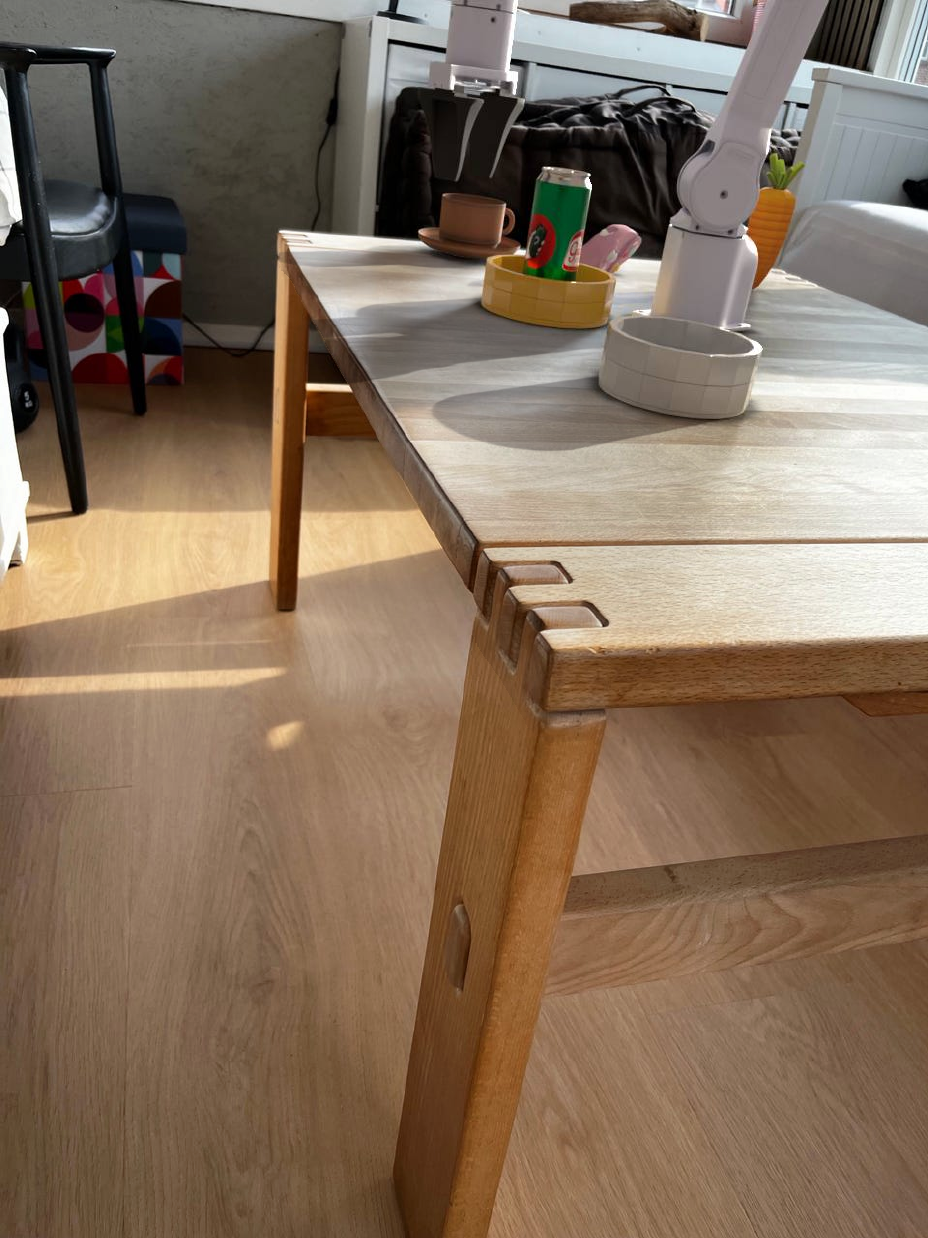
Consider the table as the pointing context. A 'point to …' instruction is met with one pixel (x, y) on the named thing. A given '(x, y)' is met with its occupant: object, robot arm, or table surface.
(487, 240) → the cup and saucer
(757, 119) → the robot arm
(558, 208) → the soda can
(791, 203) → the carrot
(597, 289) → the bowl
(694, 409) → the pot
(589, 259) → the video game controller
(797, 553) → the table surface
